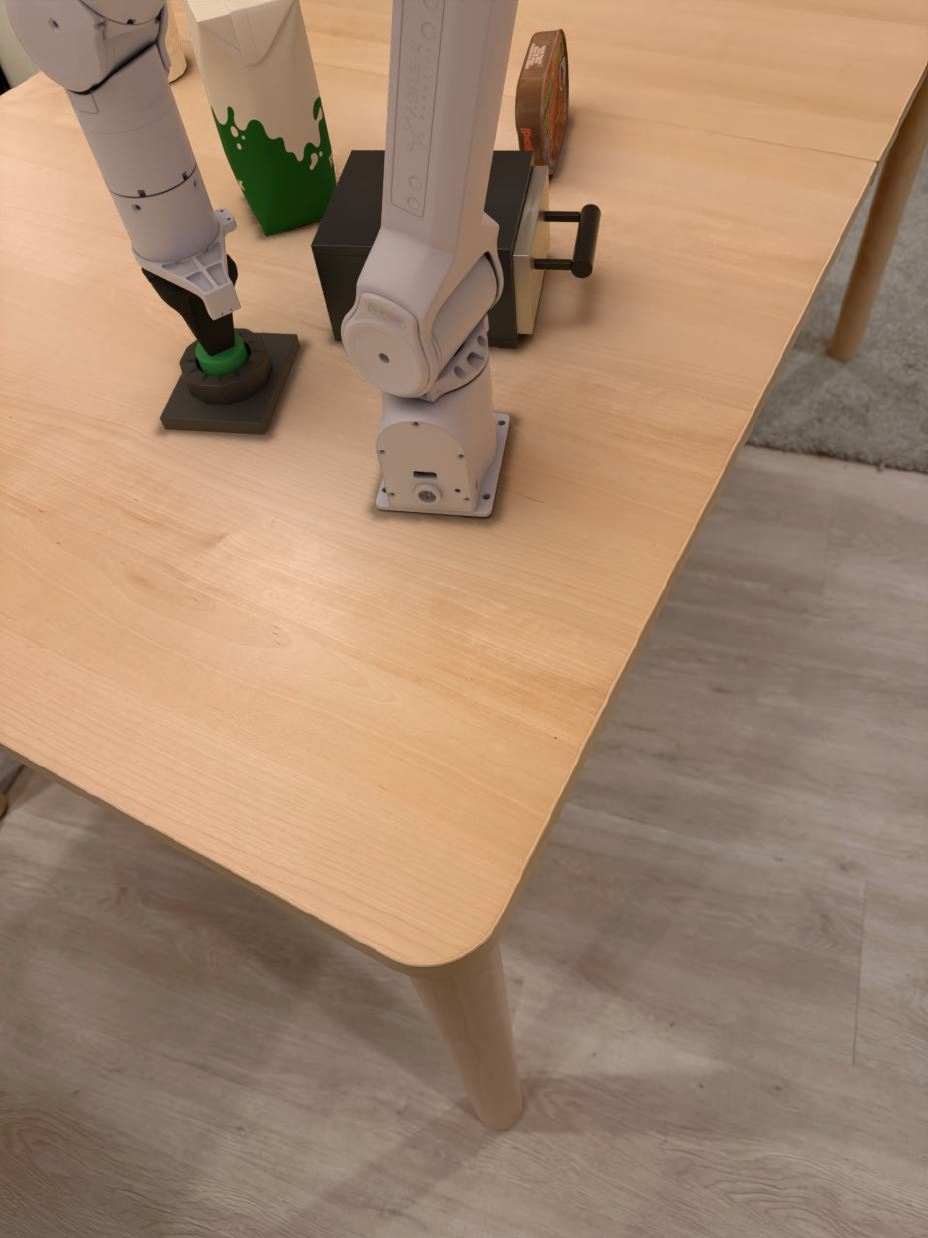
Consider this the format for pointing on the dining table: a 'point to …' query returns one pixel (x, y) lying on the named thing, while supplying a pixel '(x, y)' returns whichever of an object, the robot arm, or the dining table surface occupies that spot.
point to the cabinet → (359, 222)
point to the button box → (232, 388)
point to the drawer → (547, 246)
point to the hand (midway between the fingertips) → (219, 347)
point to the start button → (223, 358)
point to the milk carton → (266, 106)
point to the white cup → (174, 46)
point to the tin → (543, 97)
